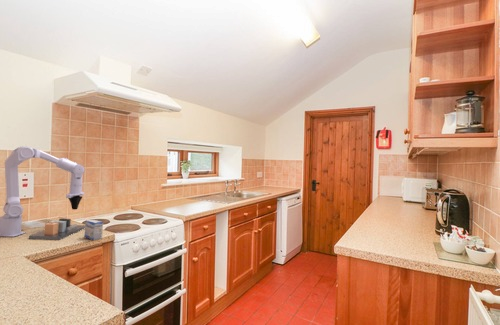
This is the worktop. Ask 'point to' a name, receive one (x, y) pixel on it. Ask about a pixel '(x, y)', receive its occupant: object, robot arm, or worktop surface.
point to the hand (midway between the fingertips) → (74, 209)
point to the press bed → (59, 235)
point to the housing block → (51, 228)
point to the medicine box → (93, 229)
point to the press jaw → (62, 224)
